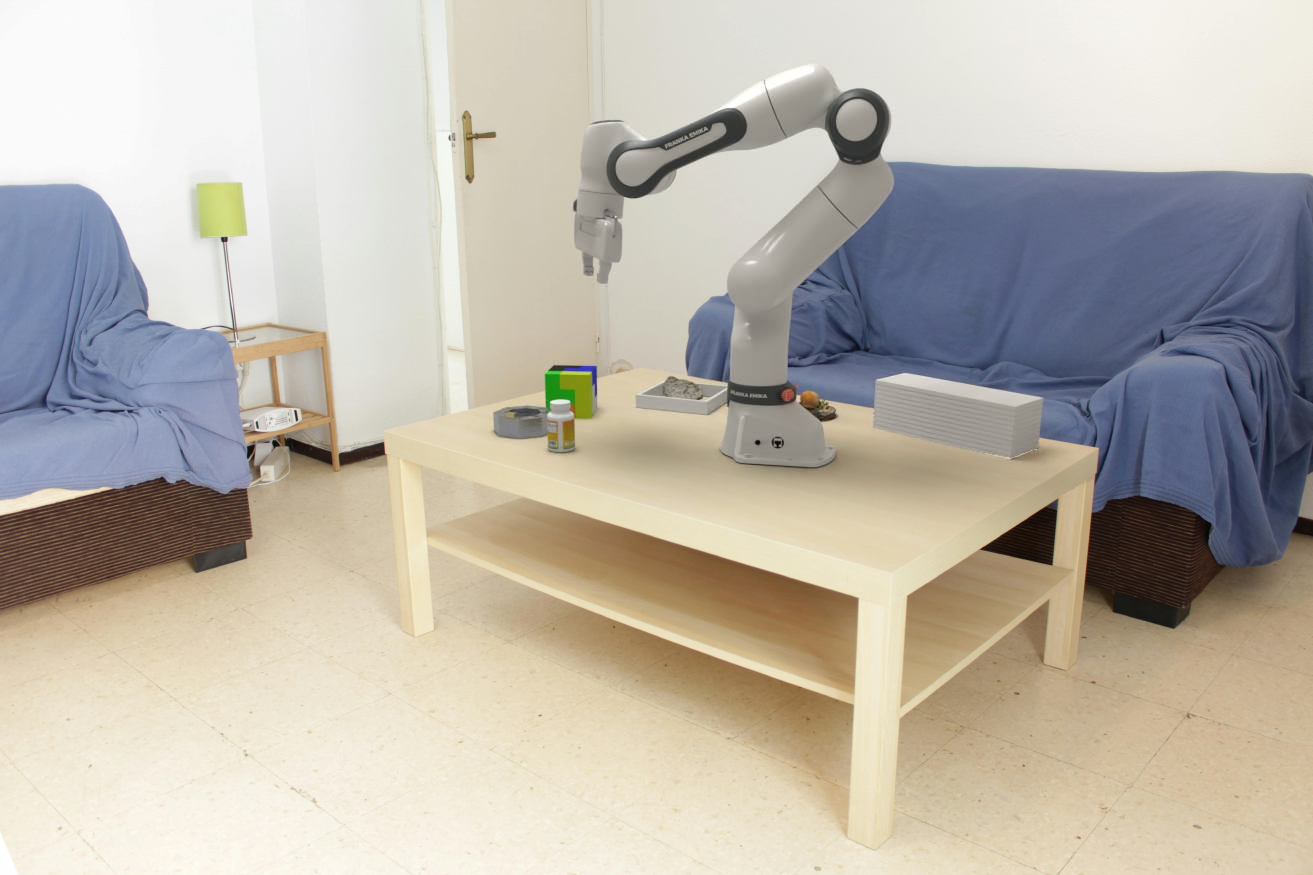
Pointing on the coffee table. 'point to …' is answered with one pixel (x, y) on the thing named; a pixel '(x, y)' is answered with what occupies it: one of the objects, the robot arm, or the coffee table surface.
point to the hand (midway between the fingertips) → (594, 279)
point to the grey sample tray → (655, 401)
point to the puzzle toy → (573, 388)
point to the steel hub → (521, 421)
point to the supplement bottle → (560, 427)
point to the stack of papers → (958, 414)
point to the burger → (817, 406)
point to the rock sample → (681, 389)
